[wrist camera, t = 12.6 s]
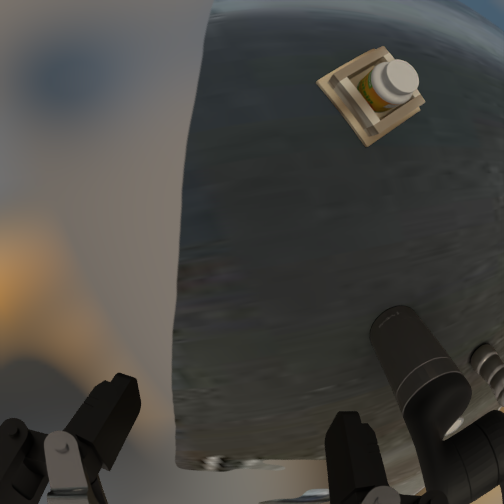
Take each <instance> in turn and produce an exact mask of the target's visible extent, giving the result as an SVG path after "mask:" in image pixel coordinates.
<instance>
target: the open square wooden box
mask: <svg viewBox="0 0 504 504" xmlns="http://www.w3.org/2000/svg"><path fill="white" fill-rule="evenodd" d="M392 60H395V59H394V58H393V57H392V55H391V54H390V53H389V52H388V51H387V49H386V48H385V47H384V46H382V47H380V48H378V49H376V50H375V49H374V48H373V49H371V50H370V51H368V52H366V53H364V54H362V55H360V56H358V57H357V58H355V59H353V60H351V61H349V62H348V63H346V64H344V65H343V66H341V67H339V68H337V69H336V70H334V71H332V72H331V73H329V74H327V75H326V76H324V77H322V78H321V79H319V80H318V81H317V82H316V84H317V85H318V86H319V87H320V89H321V90H322V91H323V92H324V93H325V95H326V96H327V97H328V98H329V99H330V101H331V102H332V103H333V104H334V106H335V107H336V108H337V109H338V111H339V112H340V113H341V115H342V116H343V117H344V119H345V120H346V121H347V122H348V124H349V125H350V127H351V128H352V129H353V131H354V132H355V133H356V135H357V136H358V138H359V139H360V140H361V142H362V143H363V145H364V146H365V147H368V146H370V145H371V144H372V143H374V142H375V141H377V140H378V139H380V138H381V137H382V136H384V135H385V134H387V133H388V132H389V131H391V130H392V129H394V128H395V127H397V126H398V125H400V124H401V123H402V122H404V121H405V120H407V119H408V118H410V117H411V116H413V115H414V114H415V113H417V112H418V111H420V108H419V106H420V105H422V104H423V103H425V100H424V99H423V97H422V96H421V94H420V93H419V91H418V90H417V89H416V90H415V91H414V92H413V94H412V96H411V98H410V99H409V100H408V101H407V102H405V103H403V104H401V105H398V106H396V107H394V108H392V109H390V110H387V111H385V112H381V113H376V112H374V111H373V110H372V108H371V107H370V106H369V104H368V103H367V102H366V100H365V99H364V98H363V96H362V95H361V94H360V92H359V91H358V90H357V85H358V83H359V82H360V80H361V79H362V78H364V77H365V76H366V75H367V74H368V73H369V72H370V71H371V70H372V69H373V68H374V67H375V66H376V65H378V64H380V63H382V62H391V61H392Z"/></svg>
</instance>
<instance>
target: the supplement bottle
mask: <svg viewBox="0 0 504 504" xmlns="http://www.w3.org/2000/svg"><path fill="white" fill-rule="evenodd" d="M418 85H419V78H418V75H417V73H416V71H415V69H414V68H413V67H412V66H411V65H410V64H409V63H407V62H405V61H403V60H392V61H391V62H382V63H380V64H378V65H376V66H375V67H374V68H373V69H372V70H371V71H370V72H369V73H368V74H367V75H366V76H365V77H364V78H362V79H361V80H360V82H359V83H358V85H357V90H358V91H359V92H360V94H361V95H362V96H363V98H364V99H365V100H366V102H367V103H368V104H369V106H370V107H371V108H372V110H373V111H374V112H376V113H381V112H385V111H387V110H390V109H392V108H394V107H396V106H398V105H401V104H403V103H405V102H407V101H408V100H409V99H410V98H411V96H412V94H413V92H414V91H415V90H416V89H417V88H418Z"/></svg>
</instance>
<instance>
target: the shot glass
mask: <svg viewBox="0 0 504 504" xmlns="http://www.w3.org/2000/svg"><path fill="white" fill-rule="evenodd" d="M463 421H464V419H463V417H462V416H460V417H459V418H458V420H457V421H456V422H455V423H454V424H453V425H452V426H451V428H450V429H449V430H448V431H447V433H446V434H445V436H446V435H449V434H451V433H452V432H454V431H455V430H456V429H458V428H459V427H460V426H461V424H462V423H463Z"/></svg>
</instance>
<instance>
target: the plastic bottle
mask: <svg viewBox="0 0 504 504" xmlns="http://www.w3.org/2000/svg"><path fill="white" fill-rule="evenodd" d="M471 365H472V367H473V369H474V371H476V372H477V373H478V374H479V375H481V376H482V378H483V379H484V380H485V381H486V382H487V383H488V385H489V386H490V388H491V389H492V391H493V393H494V395H495V397H496V399H497V401H498V403H499V405H501V406H502V407H504V363H503V361H502V360H501V359H500V357H499V356H498V354H497V352H496V350H495V349H494V347H492V346H491V345H489V344H484V345H482V346H480V347H479V348H478V349H477V350H476V351H475V352H474V354H473V355H472V358H471Z"/></svg>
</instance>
